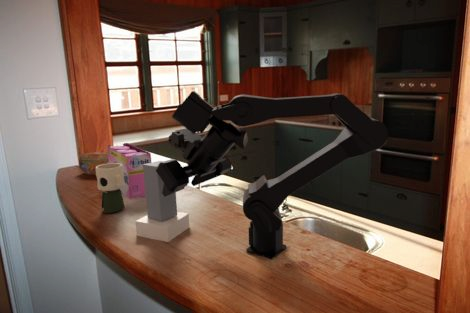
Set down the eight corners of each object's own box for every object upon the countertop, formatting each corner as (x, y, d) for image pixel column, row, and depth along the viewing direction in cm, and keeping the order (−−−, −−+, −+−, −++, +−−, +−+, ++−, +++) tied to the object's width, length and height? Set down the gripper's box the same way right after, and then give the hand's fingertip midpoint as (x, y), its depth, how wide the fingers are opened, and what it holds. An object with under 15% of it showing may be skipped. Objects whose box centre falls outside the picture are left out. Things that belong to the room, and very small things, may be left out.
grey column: (177, 215, 91) (173, 162, 89) (161, 221, 87) (156, 166, 85) (163, 211, 94) (159, 160, 92) (147, 217, 90) (142, 164, 88)
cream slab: (189, 228, 93) (188, 213, 93) (168, 243, 86) (167, 227, 85) (159, 223, 97) (158, 208, 96) (136, 237, 89) (135, 221, 88)
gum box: (108, 182, 135) (104, 144, 132) (130, 178, 139) (127, 142, 136) (130, 199, 115) (126, 156, 113) (154, 194, 120) (151, 152, 117)
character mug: (92, 209, 107) (87, 165, 105) (115, 203, 112) (111, 160, 110) (111, 219, 100) (106, 171, 97) (134, 211, 105) (130, 166, 102)
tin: (79, 173, 147) (77, 152, 145) (85, 171, 150) (82, 151, 148) (112, 176, 143) (110, 154, 141) (117, 173, 146) (115, 152, 144)
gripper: (219, 112, 86) (187, 154, 95) (158, 122, 72) (127, 171, 81) (249, 149, 83) (212, 189, 92) (191, 167, 69) (154, 212, 78)
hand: (178, 189), depth 86 cm, fingers open, 9 cm apart
